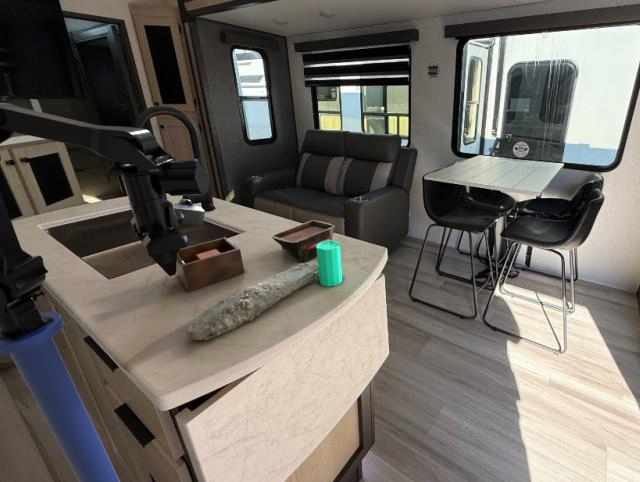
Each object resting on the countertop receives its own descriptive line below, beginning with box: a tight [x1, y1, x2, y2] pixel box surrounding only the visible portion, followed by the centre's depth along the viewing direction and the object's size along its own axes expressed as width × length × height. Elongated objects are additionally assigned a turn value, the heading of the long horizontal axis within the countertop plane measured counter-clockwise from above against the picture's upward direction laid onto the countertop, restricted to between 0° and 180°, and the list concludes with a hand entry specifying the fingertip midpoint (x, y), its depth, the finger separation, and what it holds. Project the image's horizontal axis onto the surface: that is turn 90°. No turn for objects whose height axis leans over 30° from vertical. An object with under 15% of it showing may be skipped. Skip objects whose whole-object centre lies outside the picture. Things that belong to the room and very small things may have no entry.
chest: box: [176, 236, 245, 293], centre depth 87 cm, size 14×12×7 cm
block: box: [196, 249, 221, 260], centre depth 87 cm, size 5×5×5 cm
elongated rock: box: [185, 260, 319, 341], centre depth 76 cm, size 35×5×10 cm
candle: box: [316, 239, 343, 288], centre depth 83 cm, size 6×6×12 cm
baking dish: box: [271, 219, 336, 263], centre depth 100 cm, size 14×18×10 cm
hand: (168, 269), depth 66 cm, fingers open, 7 cm apart
